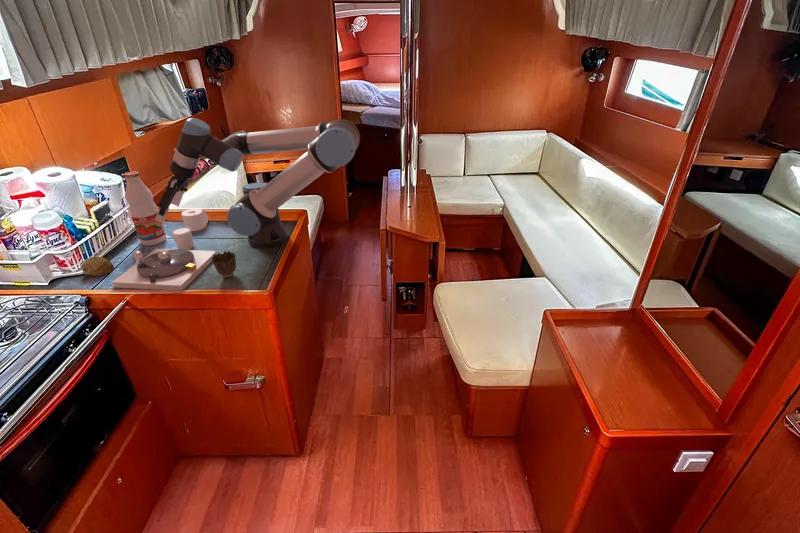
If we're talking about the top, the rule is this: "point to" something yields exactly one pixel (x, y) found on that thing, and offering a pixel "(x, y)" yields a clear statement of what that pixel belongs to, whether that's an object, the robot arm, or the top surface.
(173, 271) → the flange plate
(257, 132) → the robot arm
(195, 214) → the toilet paper
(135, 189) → the fruit juice
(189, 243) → the pale pink cylinder
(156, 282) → the base plate
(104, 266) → the seashell
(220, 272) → the cup
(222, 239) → the top surface
